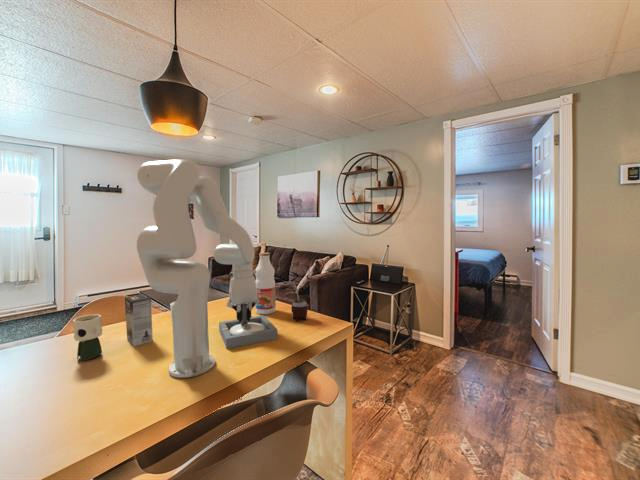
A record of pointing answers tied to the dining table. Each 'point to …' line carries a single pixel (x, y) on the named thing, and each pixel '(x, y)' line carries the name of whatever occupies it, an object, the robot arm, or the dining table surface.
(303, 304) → the mate gourd
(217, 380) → the dining table surface
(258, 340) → the housing
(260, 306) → the fruit juice
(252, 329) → the dial
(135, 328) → the coffee box
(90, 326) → the character mug
